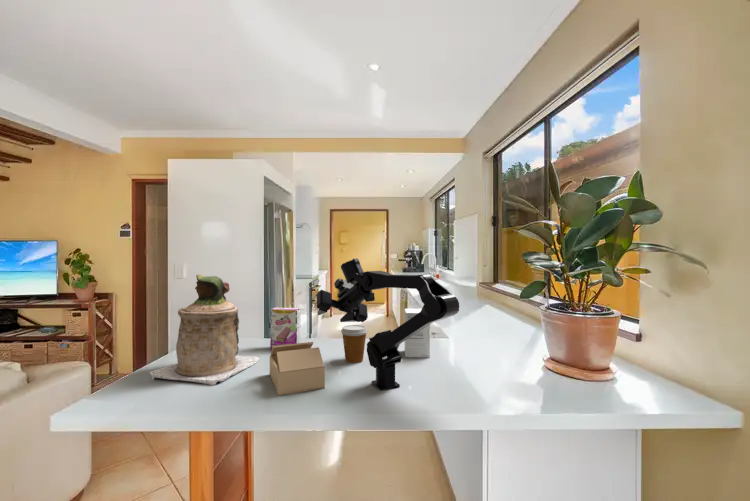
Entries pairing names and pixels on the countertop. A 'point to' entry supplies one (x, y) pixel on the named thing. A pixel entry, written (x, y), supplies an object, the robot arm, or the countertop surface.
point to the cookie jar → (207, 338)
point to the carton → (296, 379)
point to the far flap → (290, 347)
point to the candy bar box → (285, 326)
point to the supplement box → (417, 339)
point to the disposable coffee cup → (354, 342)
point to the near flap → (299, 360)
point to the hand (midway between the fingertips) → (329, 317)
